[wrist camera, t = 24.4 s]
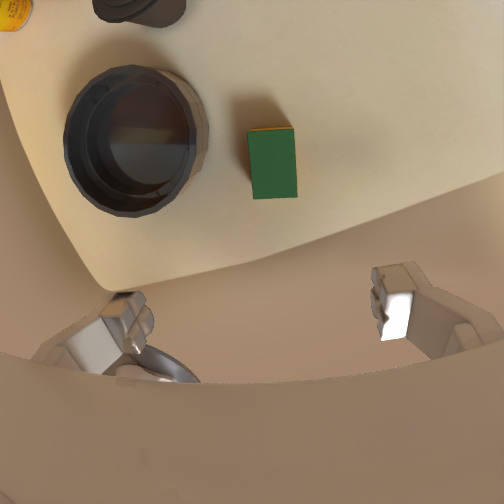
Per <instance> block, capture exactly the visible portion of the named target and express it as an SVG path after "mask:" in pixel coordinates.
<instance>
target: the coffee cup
mask: <svg viewBox="0 0 504 504" xmlns="http://www.w3.org/2000/svg"><path fill="white" fill-rule="evenodd" d="M92 4H93V8H94V12H95V14H96V15H97V16H98V17H99V18H100V19H101V20H104V21H106V22H108V23H121V22H125V21H126V22H132V23H137V24H141V25H146V26H150V27H155V28H162V27H167V26H169V25H172V24H174V23H175V22H176V21H178V20H179V19H180V18H181V16H182V15H183V14H184V11H185V9H186V0H92Z"/></svg>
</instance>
